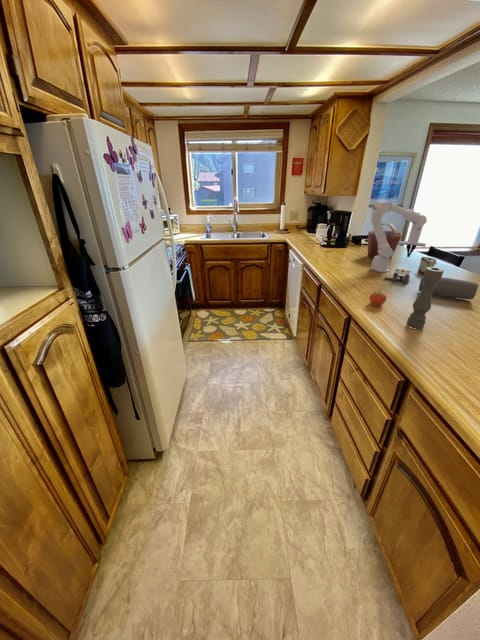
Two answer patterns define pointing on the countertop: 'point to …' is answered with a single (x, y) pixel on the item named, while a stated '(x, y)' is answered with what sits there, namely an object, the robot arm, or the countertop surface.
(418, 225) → the robot arm
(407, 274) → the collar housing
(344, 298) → the countertop surface
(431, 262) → the food container
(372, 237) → the bucket
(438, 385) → the countertop surface
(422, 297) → the candle holder
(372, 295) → the tomato
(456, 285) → the bluetooth speaker
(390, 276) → the tube
